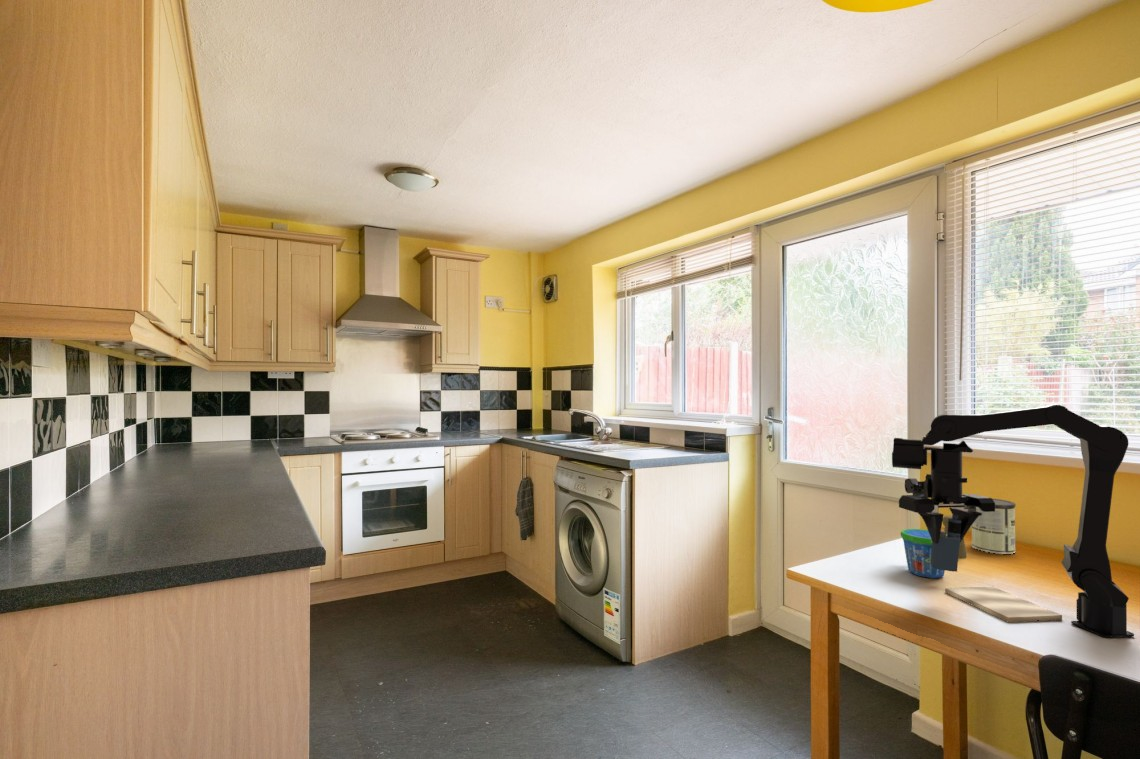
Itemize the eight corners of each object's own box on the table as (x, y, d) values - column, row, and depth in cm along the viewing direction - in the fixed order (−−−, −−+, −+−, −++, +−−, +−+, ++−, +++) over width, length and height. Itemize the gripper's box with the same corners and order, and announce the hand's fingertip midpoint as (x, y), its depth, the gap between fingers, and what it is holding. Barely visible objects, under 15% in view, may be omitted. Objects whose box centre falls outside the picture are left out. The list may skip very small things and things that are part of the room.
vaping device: (960, 572, 118) (964, 517, 119) (933, 568, 119) (937, 513, 120) (954, 569, 121) (959, 514, 121) (928, 565, 122) (932, 511, 122)
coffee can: (969, 542, 167) (969, 496, 167) (1012, 548, 161) (1012, 500, 162) (972, 551, 158) (972, 502, 158) (1018, 557, 153) (1018, 506, 153)
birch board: (1062, 620, 111) (1062, 615, 111) (1008, 622, 110) (1008, 617, 110) (992, 590, 127) (992, 586, 127) (945, 592, 125) (945, 588, 125)
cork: (935, 553, 156) (935, 514, 156) (949, 550, 158) (949, 512, 158) (958, 559, 150) (958, 519, 150) (971, 556, 153) (971, 517, 153)
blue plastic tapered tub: (891, 562, 147) (891, 524, 147) (936, 566, 144) (936, 527, 144) (913, 582, 132) (914, 540, 132) (964, 587, 129) (964, 543, 129)
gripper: (955, 465, 130) (955, 532, 129) (882, 466, 127) (882, 533, 127) (997, 473, 118) (997, 545, 118) (917, 474, 116) (917, 547, 116)
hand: (946, 542), depth 120 cm, fingers closed on vaping device, 5 cm apart
